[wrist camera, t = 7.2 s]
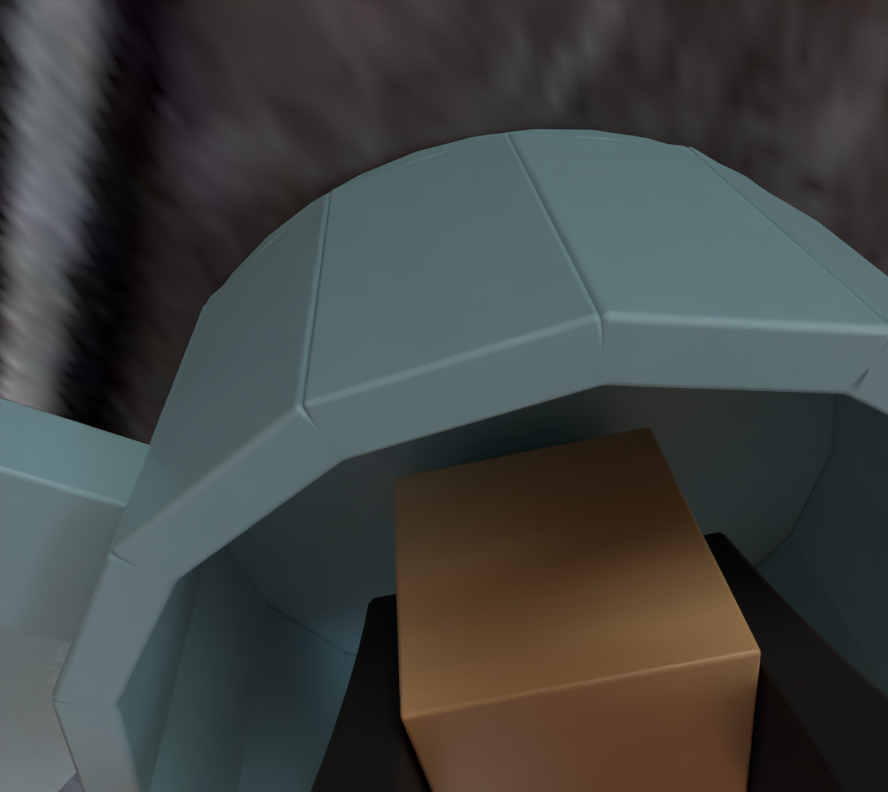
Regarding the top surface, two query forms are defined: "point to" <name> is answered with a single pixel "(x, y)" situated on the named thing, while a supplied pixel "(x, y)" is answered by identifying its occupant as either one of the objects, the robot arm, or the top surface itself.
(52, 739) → the lid
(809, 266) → the pot
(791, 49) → the top surface
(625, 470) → the block
